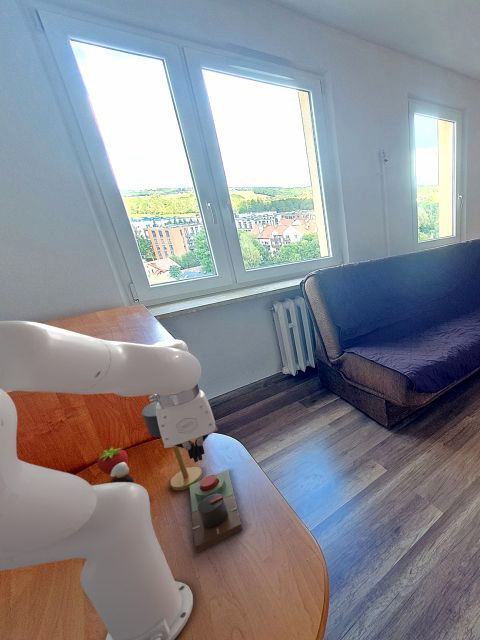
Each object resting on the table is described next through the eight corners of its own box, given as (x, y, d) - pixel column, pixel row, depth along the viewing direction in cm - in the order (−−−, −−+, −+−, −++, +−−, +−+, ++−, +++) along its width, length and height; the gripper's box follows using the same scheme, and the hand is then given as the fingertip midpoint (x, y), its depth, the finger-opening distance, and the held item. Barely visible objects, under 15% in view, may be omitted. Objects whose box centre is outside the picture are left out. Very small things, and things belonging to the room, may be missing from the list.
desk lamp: (205, 482, 90) (182, 408, 81) (169, 497, 85) (140, 420, 77) (203, 464, 96) (181, 393, 87) (168, 477, 91) (142, 404, 83)
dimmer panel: (243, 529, 77) (241, 523, 76) (196, 553, 72) (193, 547, 71) (235, 499, 85) (234, 493, 84) (192, 519, 79) (190, 513, 79)
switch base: (234, 497, 85) (232, 488, 84) (193, 516, 80) (190, 507, 79) (228, 472, 93) (226, 464, 92) (190, 488, 88) (187, 480, 87)
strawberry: (126, 463, 96) (114, 435, 92) (138, 473, 92) (126, 444, 89) (99, 477, 91) (86, 448, 87) (111, 488, 88) (98, 459, 84)
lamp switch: (218, 486, 85) (217, 481, 85) (202, 493, 83) (200, 488, 83) (217, 477, 88) (215, 472, 87) (201, 484, 86) (199, 479, 85)
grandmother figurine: (155, 498, 85) (140, 459, 80) (142, 511, 81) (125, 472, 77) (128, 495, 86) (111, 457, 81) (113, 508, 82) (95, 469, 78)
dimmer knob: (204, 532, 74) (198, 515, 72) (202, 516, 78) (196, 499, 76) (229, 520, 77) (224, 504, 75) (226, 505, 81) (221, 489, 79)
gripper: (135, 413, 68) (159, 482, 74) (219, 390, 76) (234, 453, 83) (137, 397, 74) (160, 462, 80) (215, 376, 82) (230, 437, 88)
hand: (198, 457), depth 81 cm, fingers closed
